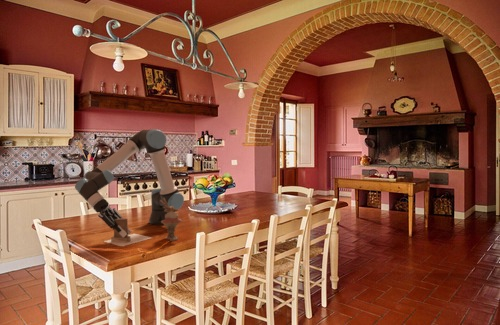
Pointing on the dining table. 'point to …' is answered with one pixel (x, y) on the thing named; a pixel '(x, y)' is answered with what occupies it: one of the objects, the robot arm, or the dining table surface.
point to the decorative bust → (170, 220)
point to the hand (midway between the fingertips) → (127, 234)
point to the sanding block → (117, 236)
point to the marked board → (134, 239)
